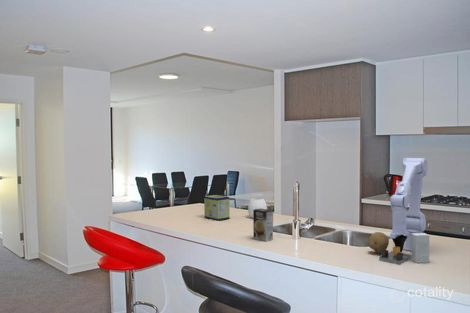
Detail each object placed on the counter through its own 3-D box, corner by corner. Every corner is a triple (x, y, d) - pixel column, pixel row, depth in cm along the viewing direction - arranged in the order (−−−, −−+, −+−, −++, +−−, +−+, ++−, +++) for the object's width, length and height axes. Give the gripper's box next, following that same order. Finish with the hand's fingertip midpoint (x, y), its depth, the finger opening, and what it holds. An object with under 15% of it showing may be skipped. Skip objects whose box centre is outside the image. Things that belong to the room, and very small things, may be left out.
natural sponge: (374, 256, 182) (374, 234, 182) (364, 251, 191) (364, 230, 191) (392, 255, 184) (392, 233, 184) (381, 250, 193) (381, 229, 193)
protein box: (215, 216, 289) (215, 194, 288) (230, 219, 277) (229, 196, 277) (203, 218, 282) (203, 196, 281) (218, 221, 270) (218, 198, 270)
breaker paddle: (395, 253, 180) (395, 246, 180) (400, 254, 179) (400, 246, 178) (392, 255, 178) (392, 247, 178) (397, 256, 176) (397, 248, 176)
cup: (249, 216, 288) (249, 197, 288) (267, 216, 286) (267, 197, 286) (247, 219, 275) (247, 199, 275) (266, 219, 273) (266, 200, 273)
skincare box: (424, 260, 176) (424, 232, 176) (429, 262, 172) (429, 235, 172) (410, 260, 176) (411, 233, 176) (415, 263, 172) (415, 235, 172)
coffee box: (252, 239, 218) (252, 209, 217) (260, 237, 223) (260, 208, 222) (266, 241, 212) (266, 211, 211) (273, 239, 216) (273, 209, 216)
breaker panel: (392, 254, 185) (392, 246, 185) (411, 258, 179) (412, 249, 179) (379, 260, 176) (379, 251, 176) (399, 264, 170) (399, 255, 170)
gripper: (401, 225, 172) (401, 256, 172) (415, 220, 182) (414, 250, 182) (385, 222, 177) (385, 253, 177) (399, 218, 187) (399, 247, 187)
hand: (399, 251), depth 180 cm, fingers closed
